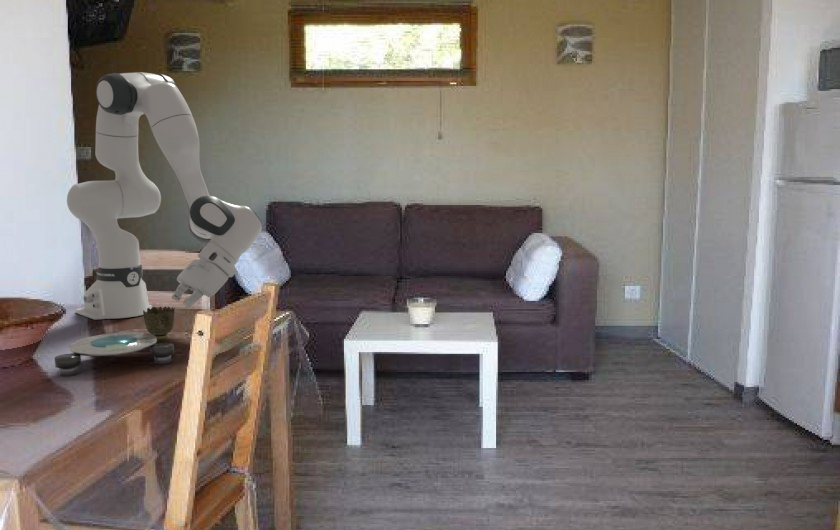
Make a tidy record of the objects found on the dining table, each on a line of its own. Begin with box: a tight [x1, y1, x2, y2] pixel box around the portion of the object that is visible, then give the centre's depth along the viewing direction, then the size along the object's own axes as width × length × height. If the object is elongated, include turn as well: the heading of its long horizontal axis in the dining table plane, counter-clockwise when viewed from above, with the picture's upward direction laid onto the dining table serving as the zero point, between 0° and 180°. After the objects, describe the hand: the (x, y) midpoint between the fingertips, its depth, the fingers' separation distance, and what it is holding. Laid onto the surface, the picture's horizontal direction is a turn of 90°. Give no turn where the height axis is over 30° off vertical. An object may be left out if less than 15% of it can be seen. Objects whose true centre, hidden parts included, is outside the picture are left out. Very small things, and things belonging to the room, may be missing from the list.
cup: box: [143, 306, 175, 342], centre depth 185 cm, size 8×7×8 cm
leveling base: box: [54, 331, 175, 377], centre depth 164 cm, size 24×22×6 cm
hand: (179, 302), depth 187 cm, fingers open, 8 cm apart
